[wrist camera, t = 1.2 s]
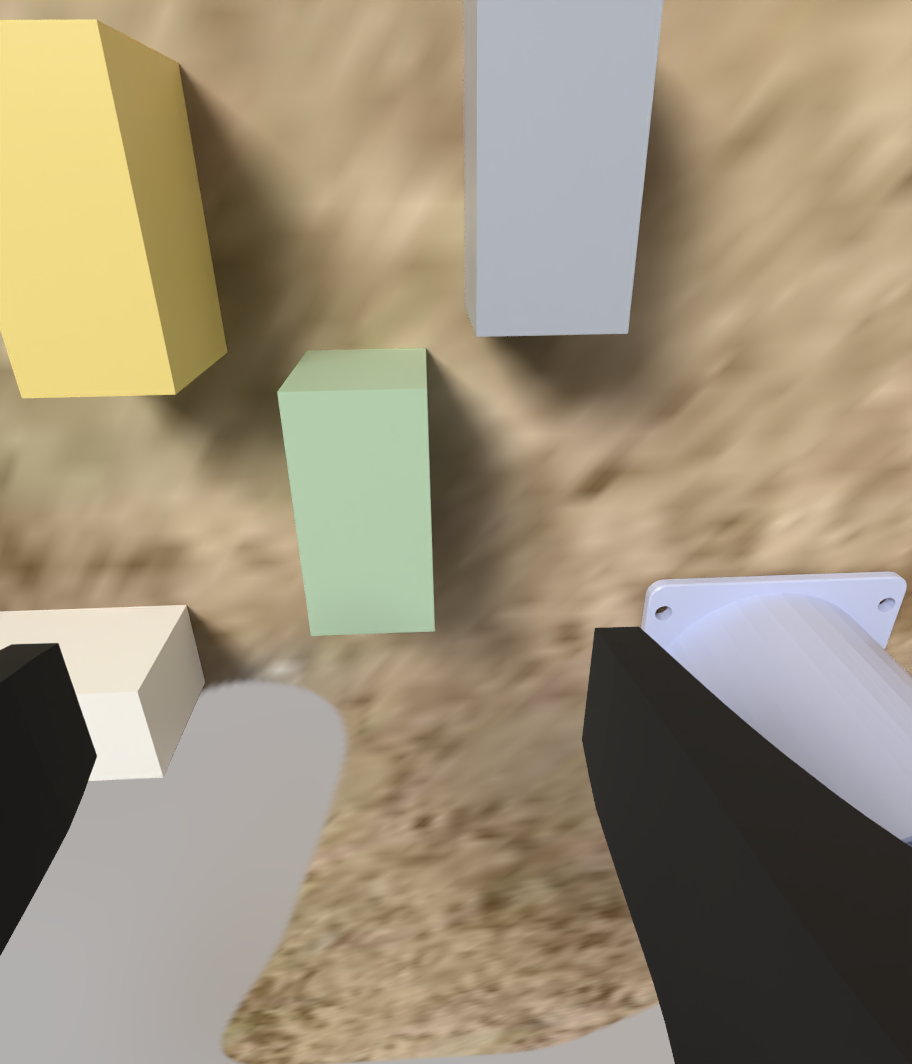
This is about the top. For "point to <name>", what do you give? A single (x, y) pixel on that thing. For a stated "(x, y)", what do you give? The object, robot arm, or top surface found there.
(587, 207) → the grey brick
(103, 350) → the mustard brick
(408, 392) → the green brick
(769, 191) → the top surface
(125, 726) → the cream brick
